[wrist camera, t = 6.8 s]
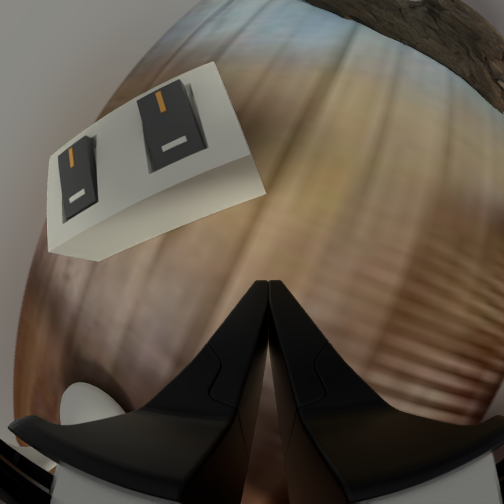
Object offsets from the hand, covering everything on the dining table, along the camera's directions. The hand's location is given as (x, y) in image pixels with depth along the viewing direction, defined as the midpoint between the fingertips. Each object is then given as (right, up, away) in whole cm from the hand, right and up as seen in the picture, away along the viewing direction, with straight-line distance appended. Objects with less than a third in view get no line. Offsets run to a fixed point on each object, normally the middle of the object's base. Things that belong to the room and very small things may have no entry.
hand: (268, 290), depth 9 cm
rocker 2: (-6, +10, +8) cm, 15 cm away
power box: (-10, +10, +16) cm, 21 cm away
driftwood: (+21, +28, +13) cm, 37 cm away
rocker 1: (-15, +7, +9) cm, 19 cm away
